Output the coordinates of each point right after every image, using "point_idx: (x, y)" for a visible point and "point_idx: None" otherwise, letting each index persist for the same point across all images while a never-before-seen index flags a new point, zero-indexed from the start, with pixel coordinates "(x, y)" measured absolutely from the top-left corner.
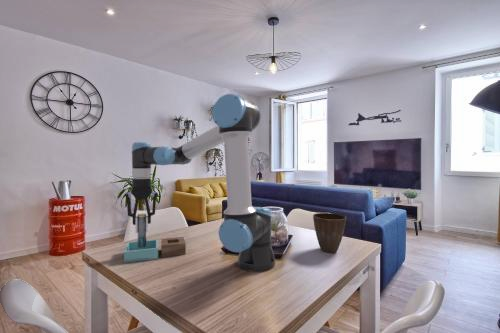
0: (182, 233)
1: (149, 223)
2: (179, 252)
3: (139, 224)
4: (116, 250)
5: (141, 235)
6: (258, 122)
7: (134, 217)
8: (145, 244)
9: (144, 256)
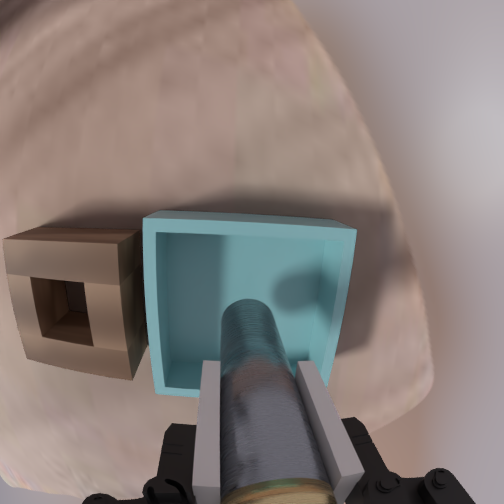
0: (94, 469)
1: (180, 426)
2: (53, 230)
3: (295, 414)
4: (350, 391)
5: (259, 341)
6: None
7: (375, 475)
8: (225, 315)
9: (232, 215)
